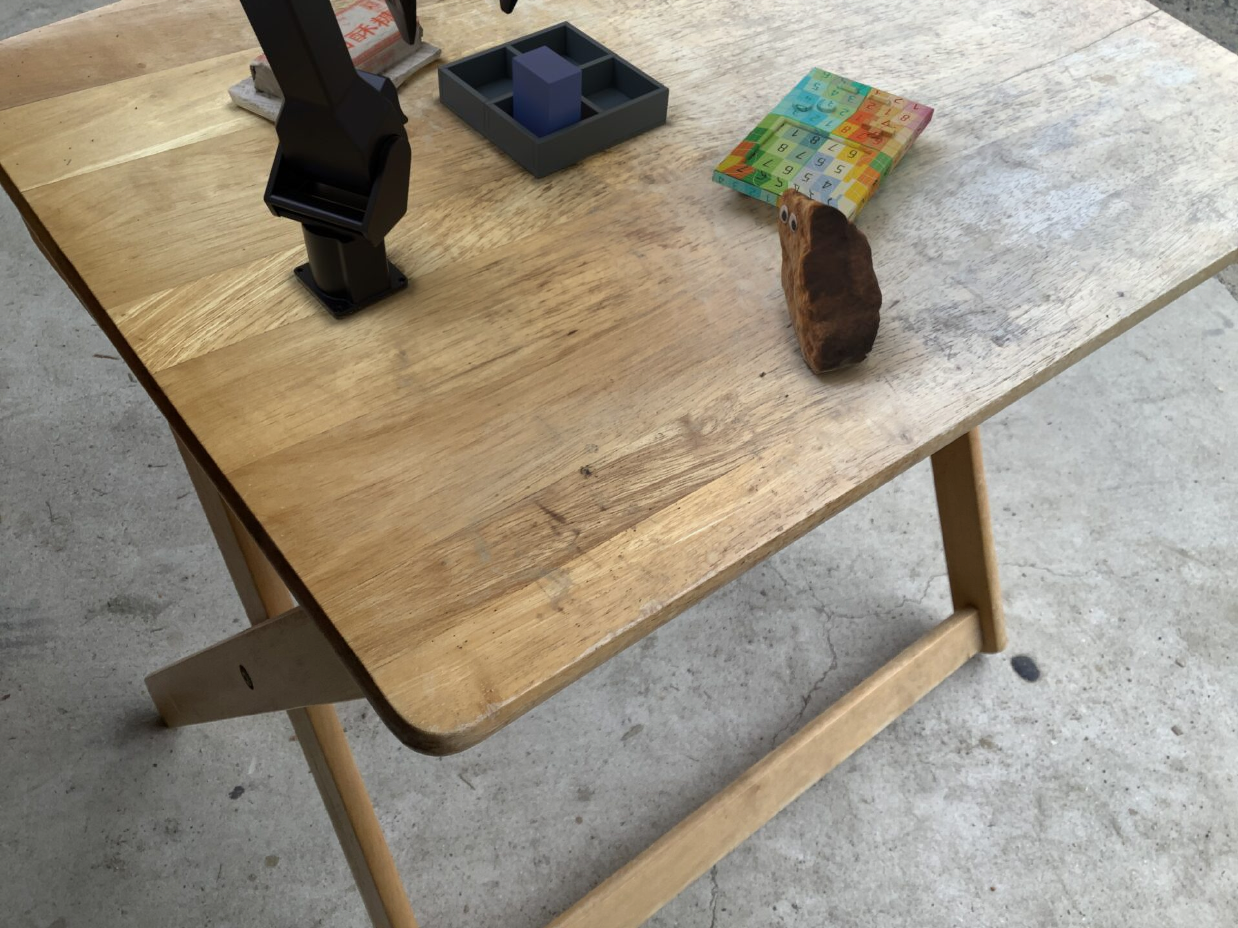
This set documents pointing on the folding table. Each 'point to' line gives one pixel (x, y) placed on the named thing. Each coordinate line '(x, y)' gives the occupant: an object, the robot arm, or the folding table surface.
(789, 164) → the puzzle game
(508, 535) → the folding table surface
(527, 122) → the carton
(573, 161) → the organiser
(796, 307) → the decorative rock
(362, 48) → the packaged product
